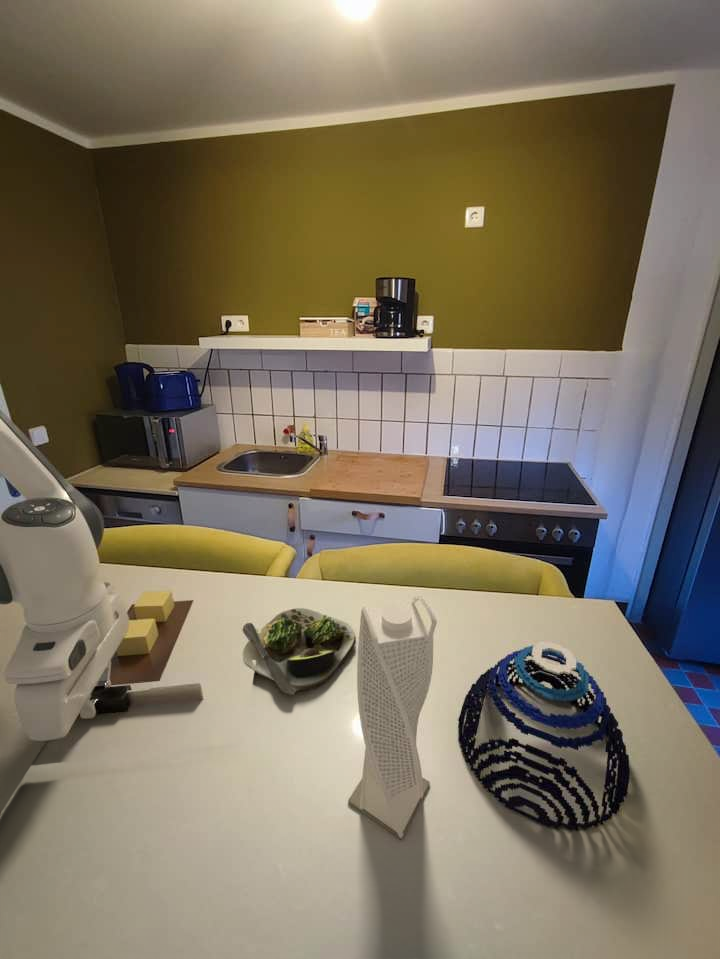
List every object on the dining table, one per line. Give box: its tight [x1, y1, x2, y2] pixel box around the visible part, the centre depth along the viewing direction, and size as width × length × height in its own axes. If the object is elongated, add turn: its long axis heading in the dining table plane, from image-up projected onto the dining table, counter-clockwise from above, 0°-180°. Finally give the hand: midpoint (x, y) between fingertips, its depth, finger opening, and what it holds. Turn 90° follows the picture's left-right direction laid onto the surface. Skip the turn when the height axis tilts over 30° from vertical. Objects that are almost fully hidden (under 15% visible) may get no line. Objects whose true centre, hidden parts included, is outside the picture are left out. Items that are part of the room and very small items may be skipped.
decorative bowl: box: [457, 640, 631, 832], centre depth 53 cm, size 20×20×14 cm
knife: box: [77, 682, 204, 718], centre depth 60 cm, size 18×2×3 cm, turn 96°
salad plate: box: [242, 607, 357, 696], centre depth 71 cm, size 19×18×5 cm
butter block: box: [116, 618, 158, 656], centre depth 71 cm, size 5×4×4 cm
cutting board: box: [109, 599, 194, 686], centre depth 73 cm, size 16×20×2 cm
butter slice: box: [134, 590, 175, 622], centre depth 78 cm, size 5×4×4 cm
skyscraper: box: [347, 594, 438, 841], centre depth 44 cm, size 8×8×28 cm
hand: (97, 702), depth 60 cm, fingers closed on knife, 2 cm apart
